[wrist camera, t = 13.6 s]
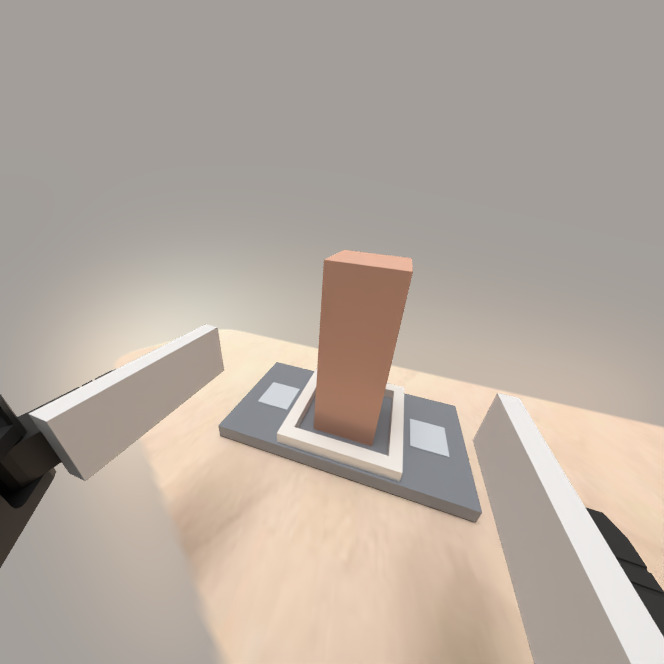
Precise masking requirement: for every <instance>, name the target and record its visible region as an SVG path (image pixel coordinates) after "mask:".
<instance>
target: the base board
mask: <svg viewBox="0 0 664 664" xmlns="http://www.w3.org/2000/svg"><path fill="white" fill-rule="evenodd" d="M316 382H317V368H316V370H315V371H311V370H307V369H302V368H298V367H294V366H290V365H286V364H282V363H278V362H276V364H275V365H274V366H273V367H272V368H271V369H270V370H269V371H268V372H267V373H266V374H265V376H264V377H263V378H262V379H261V380H260V381H259V382H258V383H257V384H256V385H255V386H254V387H253V389H252V390H251V391H250V392H249V393H248V394H247V395H246V396H245V397H244V398H243V399H242V401H241V402H240V403H239V404H238V405H237V406H236V407H235V408H234V409H233V410H232V411H231V413H230V414H229V415H228V416H227V417H226V418H225V419H224V420H223V421H222V422H221V423H220V424H219V431H220V436H223V437H226V438H229V439H232V440H235V441H238V442H241V443H244V444H247V445H250V446H253V447H255V448H258V449H261V450H264V451H267V452H270V453H273V454H276V455H279V456H282V457H285V458H288V459H291V460H294V461H297V462H299V463H302V464H305V465H308V466H311V467H314V468H317V469H320V470H323V471H326V472H329V473H332V474H335V475H338V476H341V477H344V478H346V479H349V480H352V481H355V482H358V483H361V484H364V485H367V486H370V487H373V488H376V489H379V490H382V491H385V492H388V493H390V494H393V495H396V496H399V497H402V498H405V499H408V500H411V501H414V502H417V503H420V504H423V505H426V506H429V507H432V508H435V509H437V510H440V511H443V512H446V513H449V514H452V515H455V516H458V517H461V518H464V519H467V520H470V521H473V522H476V521H477V519H478V518H479V517H480V515H481V514H482V511H481V507H480V503H479V499H478V495H477V491H476V487H475V483H474V479H473V475H472V471H471V467H470V463H469V459H468V455H467V451H466V447H465V443H464V439H463V435H462V431H461V427H460V423H459V419H458V416H457V412H456V408H455V406H453V405H449V404H445V403H440V402H436V401H432V400H428V399H424V398H420V397H416V396H412V395H408V394H404V387H401V386H397V385H393V384H389V383H387V384H386V389H385V393H384V397H383V401H382V406H381V410H380V414H379V419H378V423H377V427H376V431H375V436H374V440H373V444H372V446H369V445H366V444H362V443H359V442H356V441H352V440H349V439H346V438H343V437H339V436H336V435H333V434H329V433H326V432H323V431H319V430H316V429H314V414H315V398H316Z"/></svg>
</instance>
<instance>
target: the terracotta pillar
mask: <svg viewBox="0 0 664 664" xmlns="http://www.w3.org/2000/svg"><path fill="white" fill-rule="evenodd" d="M412 273H413V268H412V259H411V258H405V257H397V256H389V255H381V254H373V253H365V252H357V251H348V250H343V251H341V252H339V253H337V254H335V255H333V256H331V257H329V258H327V259H325V260H324V270H323V285H322V302H321V319H320V335H319V350H318V366H317V382H316V398H315V414H314V429H316V430H319V431H323V432H326V433H329V434H333V435H336V436H339V437H343V438H346V439H349V440H352V441H356V442H359V443H362V444H366V445H369V446H372V444H373V440H374V436H375V431H376V427H377V423H378V419H379V414H380V410H381V406H382V401H383V397H384V393H385V389H386V384H387V380H388V376H389V371H390V367H391V363H392V358H393V354H394V350H395V346H396V342H397V337H398V333H399V329H400V324H401V320H402V316H403V312H404V307H405V303H406V299H407V295H408V290H409V286H410V282H411V277H412Z"/></svg>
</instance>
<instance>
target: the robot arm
mask: <svg viewBox="0 0 664 664" xmlns="http://www.w3.org/2000/svg"><path fill="white" fill-rule="evenodd" d="M223 371H224V366H223V360H222V353H221V347H220V341H219V334H218V328H217V327H214V326H210V325H206V324H205V325H203V326H201V327H199V328H197V329H195V330H193V331H191V332H189V333H187V334H185V335H183V336H181V337H179V338H177V339H175V340H173V341H171V342H169V343H167V344H165V345H163V346H161V347H159V348H158V349H156V350H154V351H152V352H150V353H148V354H146V355H144V356H142V357H140V358H138V359H136V360H134V361H132V362H130V363H128V364H126V365H124V366H122V367H120V368H118V369H115V370H112V371H110V372H108V373H106V374H104V375H102V376H100V377H98V378H96V379H95V380H94V381H90V382H88V383H86V384H84V385H82V387H78V388H76V389H74V390H72V391H70V392H68V393H66V394H64V395H62V396H60V397H58V398H56V399H54V400H52V401H50V402H48V403H46V404H44V405H42V406H40V407H38V408H36V409H34V410H32V411H30V412H28V413H25V414H23V415H21V416H19V417H17V416H16V415H15V413H14V412H13V411H12V409H11V408H10V407H9V405H8V404H7V402H6V401H5V400H4V398H3V397H2V396H1V395H0V568H1V566H2V564H3V563H4V561H5V559H6V558H7V556H8V554H9V553H10V551H11V549H12V548H13V546H14V544H15V542H16V541H17V539H18V537H19V536H20V534H21V532H22V531H23V529H24V527H25V526H26V524H27V522H28V521H29V519H30V517H31V516H32V514H33V512H34V511H35V509H36V507H37V506H38V504H39V502H40V501H41V499H42V497H43V495H44V494H45V492H46V490H47V489H48V487H49V485H50V484H51V482H52V480H53V479H54V476H55V473H56V471H55V469H54V467H55V466H56V465H58V464H59V463H61V462H62V463H63V465H64V466H65V468H66V469H67V470H68V472H69V473H70V474H72V475H74V476H76V477H78V478H80V479H82V480H84V481H86V480H88V479H89V478H90V477H91V476H93V475H94V474H95V473H96V472H98V471H99V470H100V469H101V468H103V467H104V466H105V465H106V464H108V463H109V462H110V461H111V460H113V459H114V458H115V457H116V456H118V455H119V454H120V453H121V452H123V451H124V450H125V449H126V448H128V447H129V446H130V445H131V444H133V443H134V442H135V441H136V440H138V439H139V438H140V437H141V436H143V435H144V434H145V433H146V432H148V431H149V430H150V429H151V428H153V427H154V426H155V425H156V424H158V423H159V422H160V421H161V420H163V419H164V418H165V417H166V416H168V415H169V414H170V413H171V412H173V411H174V410H175V409H176V408H178V407H179V406H180V405H181V404H183V403H184V402H185V401H186V400H188V399H189V398H190V397H191V396H193V395H194V394H195V393H196V392H198V391H199V390H200V389H201V388H203V387H204V386H205V385H206V384H208V383H209V382H210V381H211V380H213V379H214V378H215V377H216V376H218V375H219V374H220V373H221V372H223ZM473 443H474V447H475V450H476V454H477V458H478V461H479V465H480V468H481V472H482V476H483V479H484V483H485V487H486V490H487V494H488V497H489V501H490V505H491V508H492V512H493V516H494V519H495V523H496V526H497V530H498V534H499V537H500V541H501V545H502V548H503V552H504V555H505V559H506V563H507V566H508V570H509V574H510V577H511V581H512V584H513V588H514V592H515V595H516V599H517V603H518V606H519V610H520V613H521V617H522V621H523V624H524V628H525V631H526V635H527V639H528V642H529V646H530V650H531V653H532V657H533V660H534V664H664V591H663V590H662V588H661V587H660V586H659V584H658V583H657V581H656V580H655V578H654V577H653V575H652V574H651V573H649V572H648V571H647V566H646V565H645V563H644V562H643V560H642V559H641V557H640V556H639V555H638V553H637V552H636V550H635V549H634V547H633V546H632V544H631V543H630V541H629V540H628V538H627V537H626V536H625V535H624V534H623V533H622V532H621V531H620V530H619V529H618V528H617V527H616V526H615V525H614V524H613V523H612V522H611V521H610V520H609V519H608V518H607V517H606V516H605V515H604V514H603V513H602V512H599V511H595V510H592V509H589V508H586V507H585V506H584V504H583V503H582V501H581V499H580V498H579V496H578V494H577V493H576V491H575V489H574V488H573V486H572V484H571V483H570V481H569V480H568V478H567V476H566V475H565V473H564V471H563V470H562V468H561V466H560V465H559V463H558V461H557V460H556V458H555V456H554V455H553V453H552V451H551V450H550V448H549V446H548V445H547V443H546V441H545V440H544V438H543V436H542V435H541V433H540V431H539V430H538V428H537V426H536V425H535V423H534V422H533V420H532V418H531V417H530V415H529V413H528V412H527V410H526V408H525V407H524V405H523V403H522V402H521V400H520V398H516V397H512V396H508V395H503V394H499V393H497V395H496V397H495V399H494V401H493V403H492V404H491V406H490V408H489V410H488V412H487V414H486V416H485V418H484V420H483V422H482V424H481V426H480V428H479V430H478V431H477V433H476V435H475V437H474V439H473Z"/></svg>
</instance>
